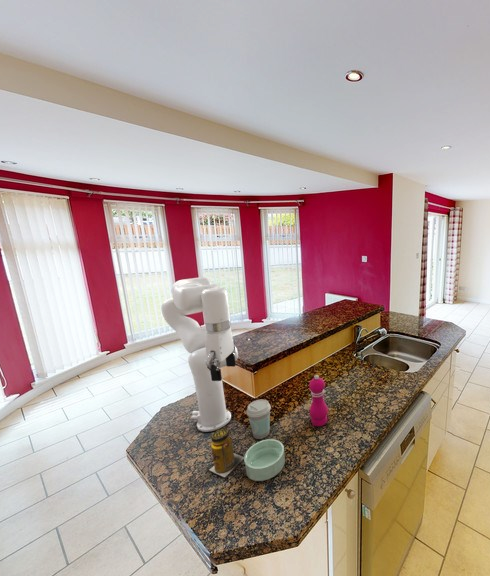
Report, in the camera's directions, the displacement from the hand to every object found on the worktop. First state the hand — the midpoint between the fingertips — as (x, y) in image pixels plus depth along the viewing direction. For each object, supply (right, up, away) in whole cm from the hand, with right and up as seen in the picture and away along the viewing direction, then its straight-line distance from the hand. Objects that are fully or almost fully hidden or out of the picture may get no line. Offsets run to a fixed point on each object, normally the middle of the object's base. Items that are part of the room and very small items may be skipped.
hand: (224, 373), depth 96 cm
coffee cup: (+9, -26, +10) cm, 30 cm away
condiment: (+3, -29, -3) cm, 30 cm away
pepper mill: (+31, -24, +16) cm, 42 cm away
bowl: (+16, -29, -5) cm, 33 cm away
